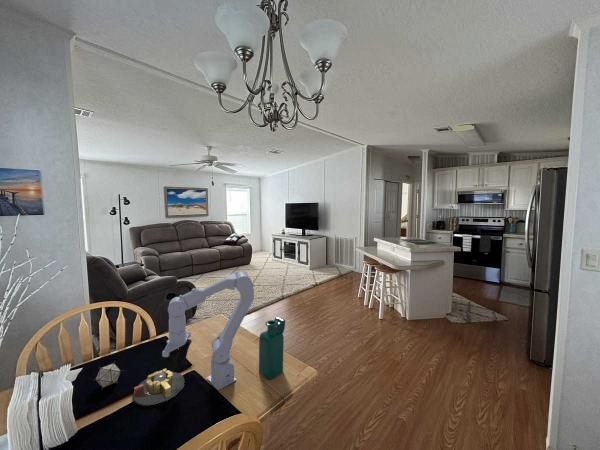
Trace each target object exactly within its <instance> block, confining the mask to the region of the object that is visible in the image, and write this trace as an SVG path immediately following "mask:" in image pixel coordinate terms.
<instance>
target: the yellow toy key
mask: <svg viewBox="0 0 600 450" xmlns="http://www.w3.org/2000/svg"><path fill="white" fill-rule="evenodd" d="M172 372H173V371H172V370H169V369H167V368H163V369H162V370H159V371H155V372H153V373H151V374H148V376H147V378H146V379H147V381H146V389H147V391H148V392H149V393H152V394H156V393H160V392H162V394H163V395H164V396H165V398H167V397H169V396H171V386H172V383H173V373H172ZM159 373H165V374H166V379H165V380H164V381H162V382H158V383H157V381H154V376H155V375H157V374H159Z"/></svg>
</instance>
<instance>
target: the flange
mask: <svg viewBox="0 0 600 450" xmlns="http://www.w3.org/2000/svg"><path fill="white" fill-rule="evenodd" d="M171 372H172V373H173V383H172V386H171V396H169V397H167V398H165V396H164V395H163V394H162V392H160V393H156V394H152V393H149V392H148V391H147V389H146V381H147V378H145V379H144V380H143V381H141V382H140V383H139V384H138V385H137V386H135V387H133V389H134V391H133V397H132V398H133V401H134V403H135V404H137V405H138V406H141V405H142V406H141V407H151V406H150V405H155V406H157V405H156V404H159V403H162V402H165V401H167V402H169V401H171V400H172V399H171V398H173V397H174V398H176V397H177V396H178V395H179V394H180V393H181V392H182V391H181V390H183V389H184V387H185V384H184V383H185V377H184V376H183V374H181V373H179V372H175V371H171ZM165 379H166V374H165V373H159V374H157V375H155V376H154V381H157V383H158V382H162V381H164V380H165ZM180 391H181V392H180ZM179 392H180V393H179ZM178 393H179V394H178ZM177 394H178V395H177ZM176 395H177V396H176ZM174 398H173V399H174ZM170 399H171V400H170ZM168 400H169V401H168ZM165 403H166V402H165ZM162 404H163V403H162ZM159 405H160V404H159Z"/></svg>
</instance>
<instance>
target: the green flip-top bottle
mask: <svg viewBox="0 0 600 450" xmlns="http://www.w3.org/2000/svg"><path fill="white" fill-rule="evenodd" d="M265 326H266V327H267V329H266V330H265V331H263V332H261V333H260V335H259V336H258V372H259V374H260V375H262V376H263V377H264V378H265V379H267V380H273V379H275V378H276V377H278V376H280V375H282V374H283V372H284V349H285V348H284V347H285V346H284V343H285V341H284V338H285V336H284V332H285V328H286V320H285V319H283V318H282V317H279V316H275V317H274V319H273V320H272V319H270V320H267V321H266V322H265Z"/></svg>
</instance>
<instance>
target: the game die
mask: <svg viewBox="0 0 600 450" xmlns="http://www.w3.org/2000/svg"><path fill="white" fill-rule="evenodd" d="M98 370H99V371H98V372H97V376H96V377H95V378H94V379H93V381H96V382H97V383H98V385H99V386H100V387H101V391H103V390H104V388H105V387H108V386H110V385H113V384H119V381H118V379H119V376H120V374H121V373H122V372H124V369H120V368H119V366H117V365H116V360H114V361H113V362H112V363H110V364H107V365H105V366H103V367H100V366H98Z"/></svg>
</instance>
